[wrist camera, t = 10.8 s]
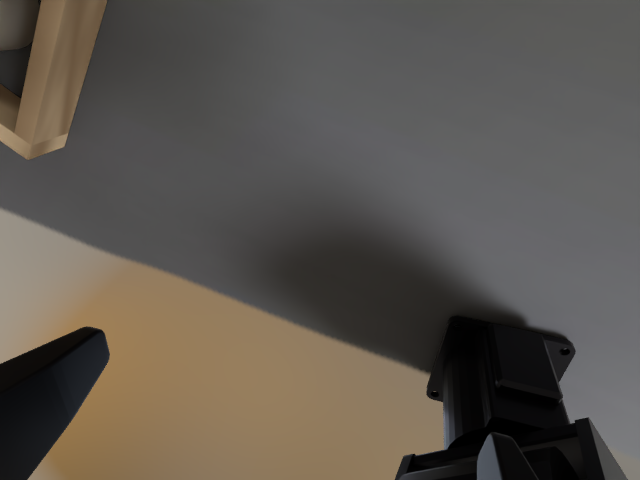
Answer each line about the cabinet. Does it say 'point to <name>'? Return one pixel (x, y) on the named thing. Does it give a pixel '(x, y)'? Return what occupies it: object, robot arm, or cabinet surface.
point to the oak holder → (51, 77)
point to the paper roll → (17, 23)
